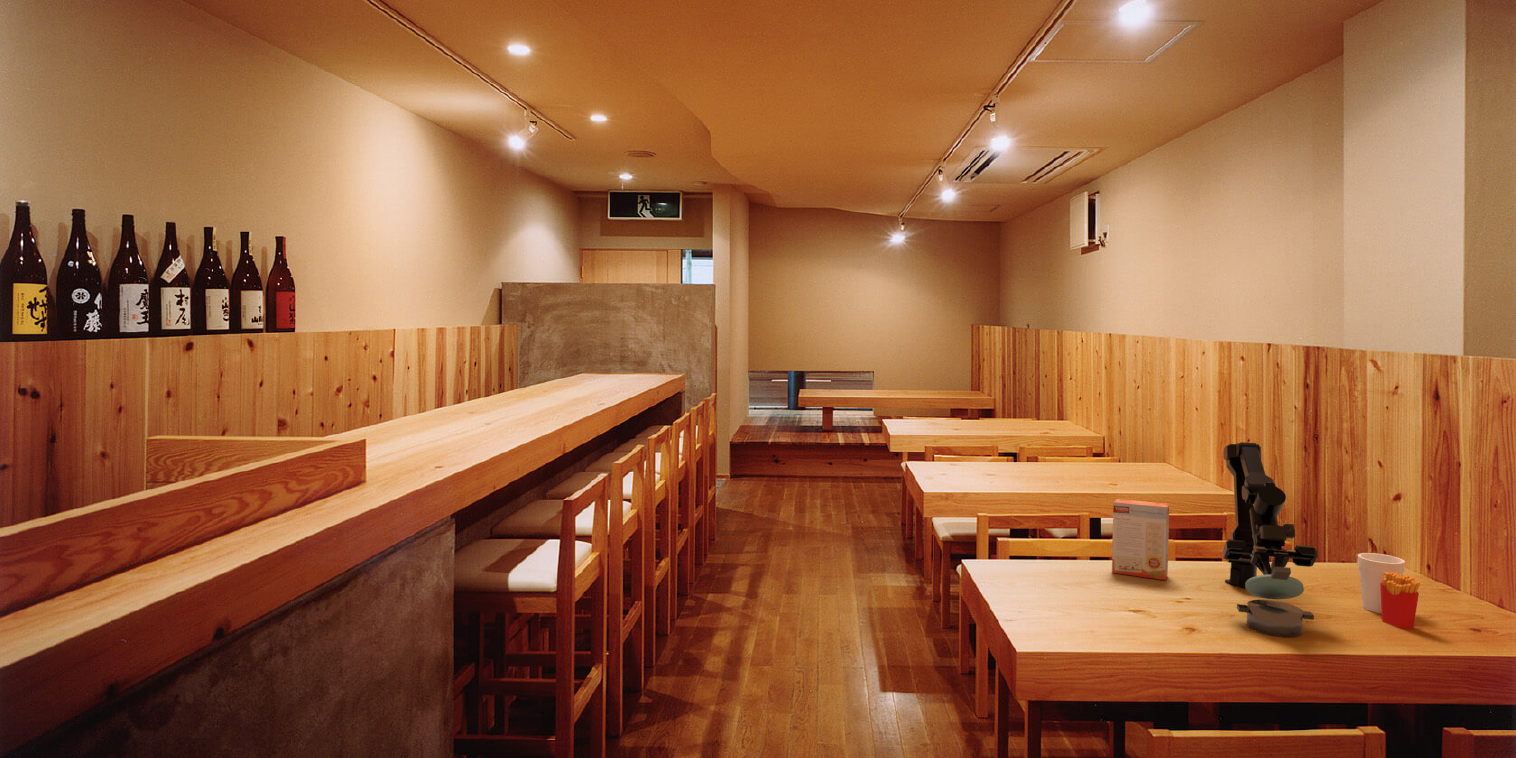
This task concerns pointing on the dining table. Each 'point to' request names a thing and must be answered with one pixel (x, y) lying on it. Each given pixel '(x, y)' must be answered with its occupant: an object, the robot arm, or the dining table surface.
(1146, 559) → the cracker box
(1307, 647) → the dining table surface
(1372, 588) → the foam cup
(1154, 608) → the dining table surface
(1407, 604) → the french fries
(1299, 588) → the lid
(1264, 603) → the cooker pot
